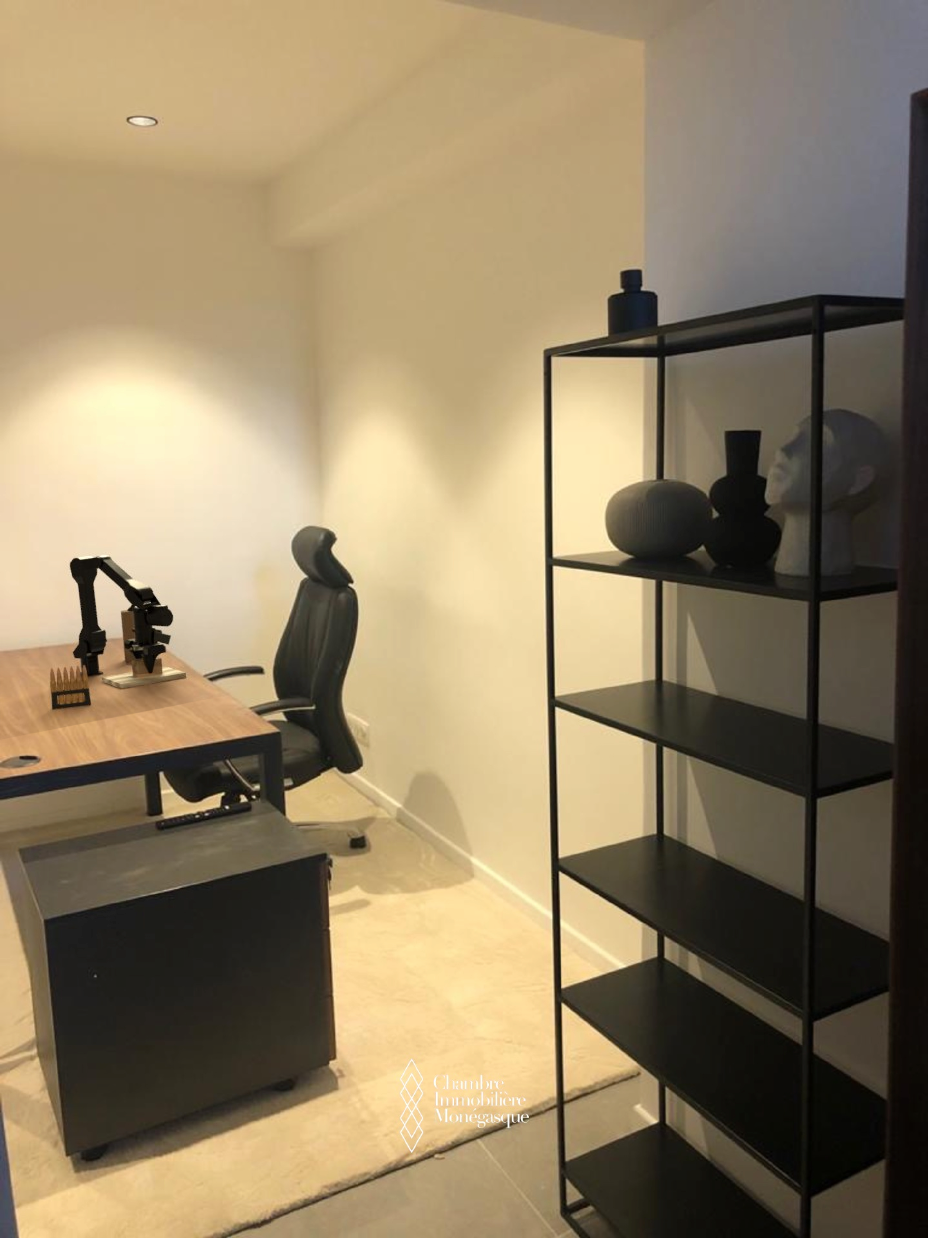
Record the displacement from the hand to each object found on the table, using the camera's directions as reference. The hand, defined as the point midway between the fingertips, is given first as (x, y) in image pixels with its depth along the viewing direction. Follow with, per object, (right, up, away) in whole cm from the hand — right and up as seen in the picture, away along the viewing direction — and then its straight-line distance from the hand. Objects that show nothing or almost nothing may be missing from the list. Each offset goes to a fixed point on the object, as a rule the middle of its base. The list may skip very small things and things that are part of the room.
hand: (147, 672), depth 332 cm
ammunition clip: (-11, -9, -35) cm, 38 cm away
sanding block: (0, -1, 0) cm, 1 cm away
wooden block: (-14, +2, +34) cm, 36 cm away
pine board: (-1, -2, 0) cm, 2 cm away
